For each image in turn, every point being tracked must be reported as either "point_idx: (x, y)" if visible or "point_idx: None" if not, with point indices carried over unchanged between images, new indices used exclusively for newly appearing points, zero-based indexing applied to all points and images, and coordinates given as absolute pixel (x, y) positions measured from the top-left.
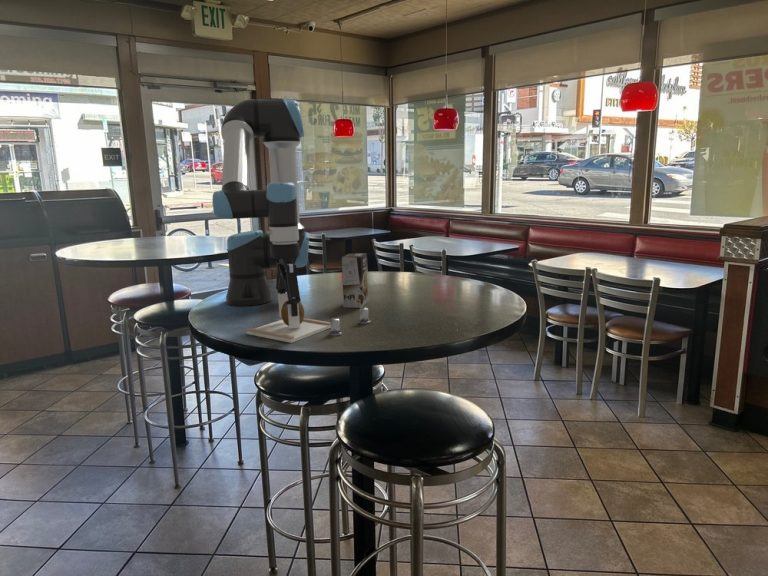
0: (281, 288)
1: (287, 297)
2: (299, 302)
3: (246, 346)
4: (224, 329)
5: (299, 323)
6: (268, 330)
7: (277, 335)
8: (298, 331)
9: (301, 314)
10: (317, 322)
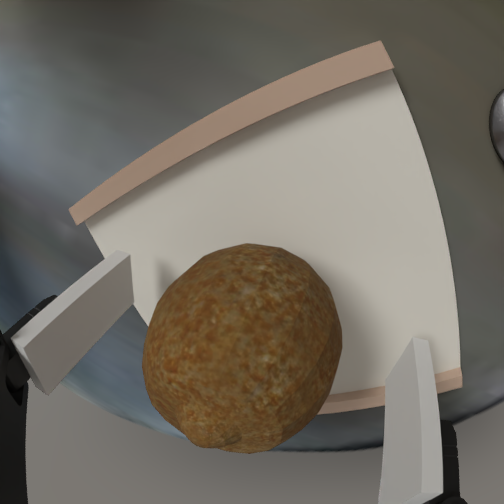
0: (17, 414)
1: (46, 333)
2: (261, 390)
3: (355, 450)
4: (137, 399)
5: (430, 360)
6: None
7: (379, 403)
8: (378, 302)
9: (336, 324)
10: (282, 111)
